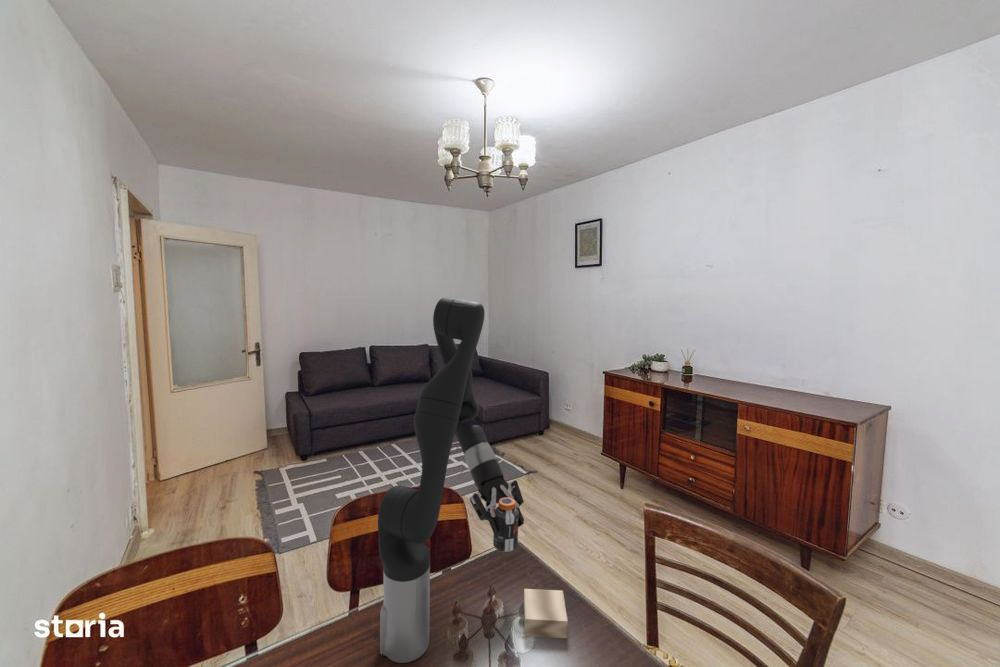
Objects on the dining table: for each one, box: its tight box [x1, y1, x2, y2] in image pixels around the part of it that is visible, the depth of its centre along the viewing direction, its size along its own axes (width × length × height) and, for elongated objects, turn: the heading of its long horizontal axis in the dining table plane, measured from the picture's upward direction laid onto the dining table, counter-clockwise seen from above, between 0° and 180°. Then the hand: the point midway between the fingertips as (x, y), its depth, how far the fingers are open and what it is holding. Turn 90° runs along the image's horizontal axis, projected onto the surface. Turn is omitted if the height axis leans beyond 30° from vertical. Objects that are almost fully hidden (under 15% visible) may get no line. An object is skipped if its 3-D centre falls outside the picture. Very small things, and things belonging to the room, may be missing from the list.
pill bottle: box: [492, 497, 519, 553], centre depth 100 cm, size 6×6×11 cm
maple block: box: [523, 588, 569, 639], centre depth 93 cm, size 9×9×4 cm
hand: (510, 529), depth 99 cm, fingers closed on pill bottle, 6 cm apart
